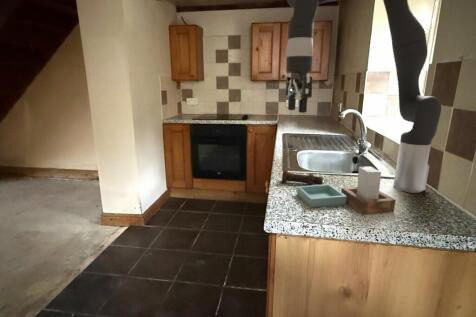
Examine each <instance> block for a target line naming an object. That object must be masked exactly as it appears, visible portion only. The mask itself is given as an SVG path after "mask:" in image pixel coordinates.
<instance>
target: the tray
mask: <svg viewBox="0 0 476 317" xmlns="http://www.w3.org/2000/svg"><path fill="white" fill-rule="evenodd" d="M296 189H297V190H296V195H297V196H298V198H300V199H301V200H302V201H303V202H304V203H305V205H307V206H308V207H309V208H310V209H315V208H326V207H327V208H328V207H336V206H337V207H338V206H346V205H347V204H346V199H347V196H346V195H344V194H343V193H341V190H339V189H337V188H336V187H334V186H333V185H331V184H330V183H328V184H322V185H316V184H313V185H311V186H308V185H300V186H299V185H298V186H297V188H296Z"/></svg>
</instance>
